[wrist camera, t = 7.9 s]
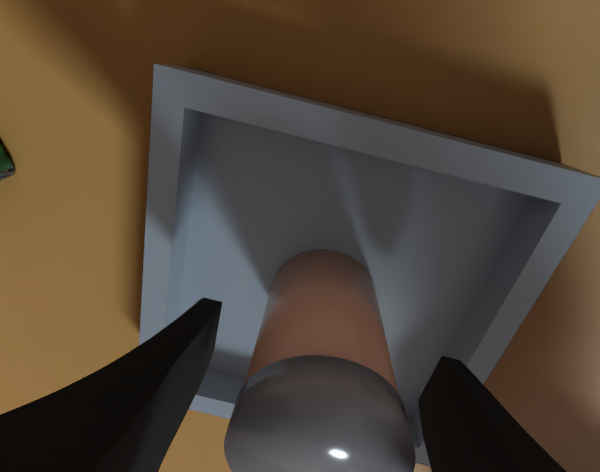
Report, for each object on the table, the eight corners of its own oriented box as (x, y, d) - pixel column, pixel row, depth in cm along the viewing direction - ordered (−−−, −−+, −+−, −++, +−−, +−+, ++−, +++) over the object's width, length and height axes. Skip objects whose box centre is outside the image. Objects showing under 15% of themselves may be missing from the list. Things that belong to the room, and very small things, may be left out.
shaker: (394, 264, 14) (448, 418, 8) (357, 349, 16) (376, 530, 10) (282, 234, 14) (243, 366, 7) (259, 324, 16) (211, 491, 9)
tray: (562, 163, 13) (611, 180, 10) (420, 420, 18) (431, 466, 16) (185, 66, 12) (154, 63, 10) (159, 358, 18) (136, 396, 16)
